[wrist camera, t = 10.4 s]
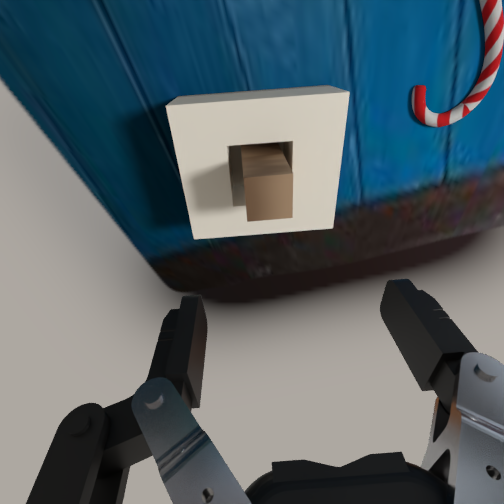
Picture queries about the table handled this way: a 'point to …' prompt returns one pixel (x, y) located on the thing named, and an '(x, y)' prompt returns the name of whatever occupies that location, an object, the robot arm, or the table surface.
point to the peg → (267, 182)
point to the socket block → (253, 132)
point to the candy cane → (494, 38)
